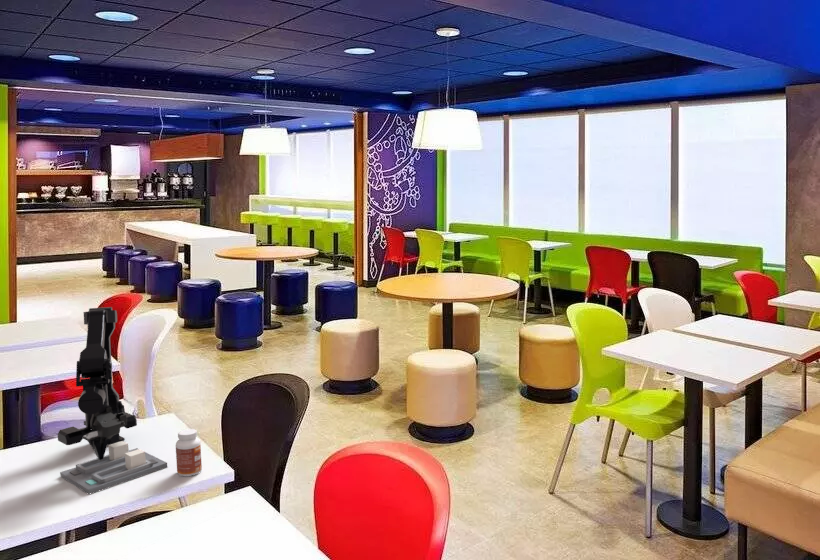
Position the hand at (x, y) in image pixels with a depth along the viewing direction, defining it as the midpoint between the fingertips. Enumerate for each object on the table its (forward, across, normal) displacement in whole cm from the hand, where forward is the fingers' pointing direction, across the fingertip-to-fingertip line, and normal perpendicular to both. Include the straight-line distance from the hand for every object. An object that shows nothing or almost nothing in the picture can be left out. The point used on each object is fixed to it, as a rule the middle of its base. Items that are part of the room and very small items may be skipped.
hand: (100, 459), depth 183 cm
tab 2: (+1, +5, -9) cm, 10 cm away
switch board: (+3, +1, -4) cm, 5 cm away
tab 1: (+2, +5, 0) cm, 5 cm away
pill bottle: (+3, +14, -20) cm, 24 cm away
